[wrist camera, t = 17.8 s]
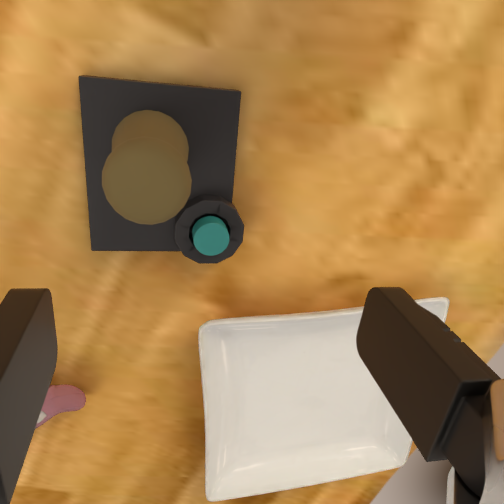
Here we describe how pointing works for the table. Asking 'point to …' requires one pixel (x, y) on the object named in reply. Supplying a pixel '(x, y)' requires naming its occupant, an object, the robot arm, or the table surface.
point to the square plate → (294, 403)
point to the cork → (147, 168)
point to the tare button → (210, 235)
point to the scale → (199, 161)
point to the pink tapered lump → (61, 401)
